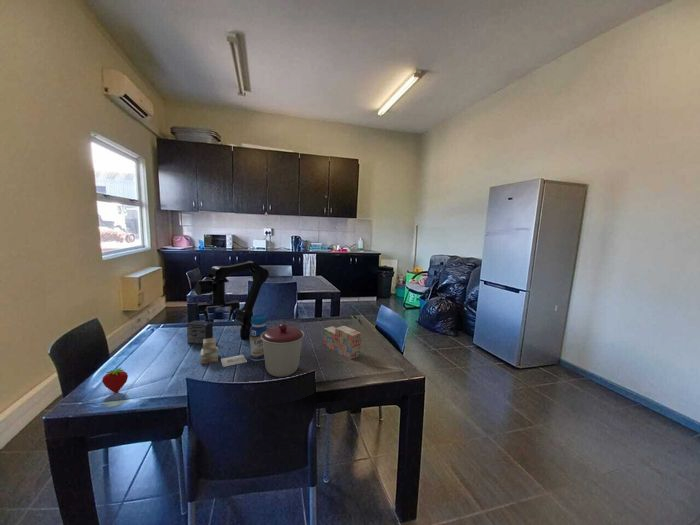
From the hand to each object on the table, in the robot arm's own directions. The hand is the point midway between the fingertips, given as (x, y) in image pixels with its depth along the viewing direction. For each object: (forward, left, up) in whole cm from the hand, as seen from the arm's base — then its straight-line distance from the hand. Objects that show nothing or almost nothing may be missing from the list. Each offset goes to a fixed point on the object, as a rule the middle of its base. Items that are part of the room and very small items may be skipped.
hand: (219, 322), depth 145 cm
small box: (+9, -8, -13) cm, 18 cm away
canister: (-25, +35, -13) cm, 45 cm away
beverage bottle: (-17, +19, -13) cm, 28 cm away
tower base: (+4, +14, -12) cm, 19 cm away
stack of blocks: (-57, +24, -13) cm, 63 cm away
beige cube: (+4, +14, -8) cm, 17 cm away
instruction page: (-6, +19, -12) cm, 24 cm away
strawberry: (+34, +31, -13) cm, 48 cm away
